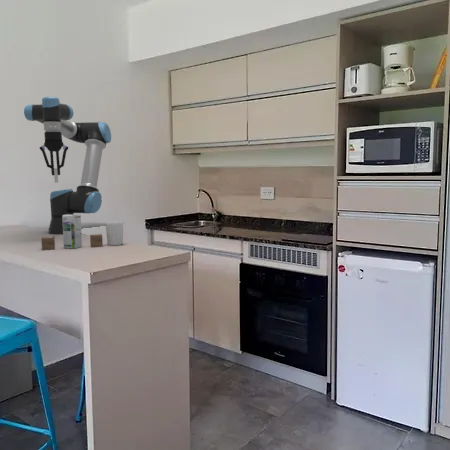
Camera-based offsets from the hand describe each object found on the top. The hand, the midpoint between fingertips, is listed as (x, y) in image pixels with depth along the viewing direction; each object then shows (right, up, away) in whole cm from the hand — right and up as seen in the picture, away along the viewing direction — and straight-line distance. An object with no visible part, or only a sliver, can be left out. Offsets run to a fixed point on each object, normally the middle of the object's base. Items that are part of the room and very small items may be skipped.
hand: (56, 182), depth 214 cm
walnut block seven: (+3, -31, -18) cm, 36 cm away
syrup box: (+13, -30, -15) cm, 36 cm away
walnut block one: (+22, -30, -12) cm, 39 cm away
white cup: (+30, -29, -8) cm, 42 cm away
